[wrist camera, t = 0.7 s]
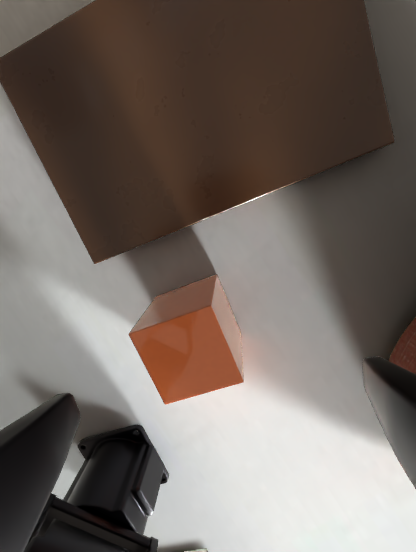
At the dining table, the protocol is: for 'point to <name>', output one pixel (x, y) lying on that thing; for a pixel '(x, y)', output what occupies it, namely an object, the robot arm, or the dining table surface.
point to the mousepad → (200, 551)
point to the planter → (406, 351)
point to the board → (193, 107)
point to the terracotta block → (190, 341)
